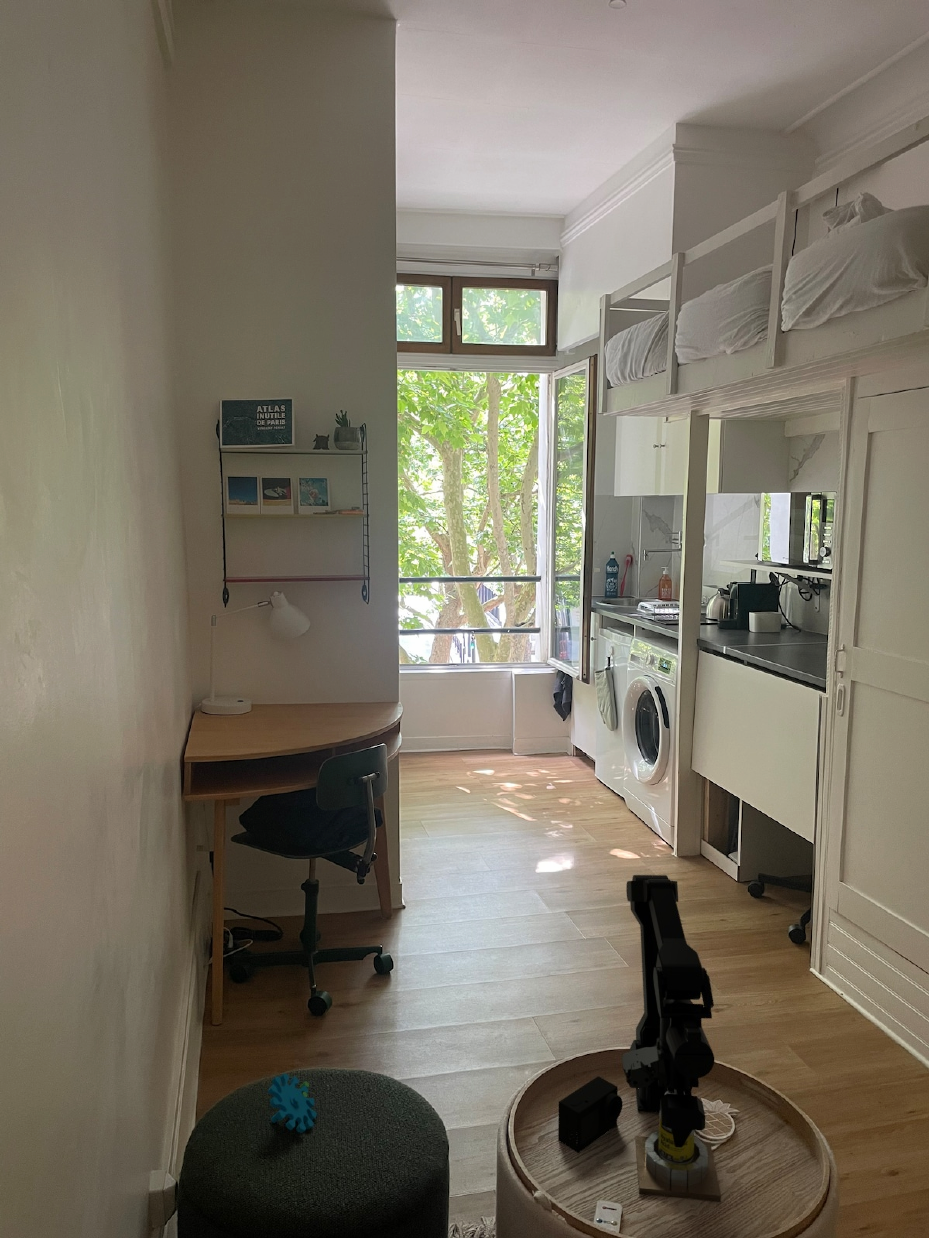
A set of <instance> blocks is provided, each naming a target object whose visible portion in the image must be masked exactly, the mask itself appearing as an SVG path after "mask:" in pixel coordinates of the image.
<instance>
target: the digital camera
mask: <svg viewBox="0 0 929 1238" xmlns="http://www.w3.org/2000/svg"><path fill="white" fill-rule="evenodd" d="M618 1089H619V1088H618V1086H616V1085H615V1084H614V1083H611V1082H609V1081H608V1080H606V1079H604V1078H603V1077H600V1076H599V1075H598V1076H597V1077H595V1078H593V1079H592V1080H590V1081H589V1082H587V1083H585V1084H584V1085H582V1086H581V1087H579V1088H577V1089H576V1090H575V1091H572V1092H571V1093H570V1094H568V1095H567V1096H566V1097H564V1098H563V1099H561V1100H559V1101H558V1126H557V1127H558V1128H557V1130H558V1134H557V1135H558V1136H557V1137H558V1140H557V1141H558V1142H560V1143H562V1144H563V1145H565V1146H566V1147H567V1148H569V1149H571V1151H574V1152H575V1153H577V1154H579V1153H581V1152H582V1151H583V1150H584V1149H586V1148H587V1147H589V1146H590V1145H591V1144H593V1143H594V1142H596V1141H597V1140H599V1139H600V1138H601V1137H603V1136H604V1135H606V1134H607V1133H608V1132H610V1131H611V1130H612V1129H613V1128H615V1127H616V1126H618V1119H619V1117H620V1115H621V1113H622V1109H623V1099H622V1097H621V1096H620V1095H618V1093H619V1092H618Z"/></svg>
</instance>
